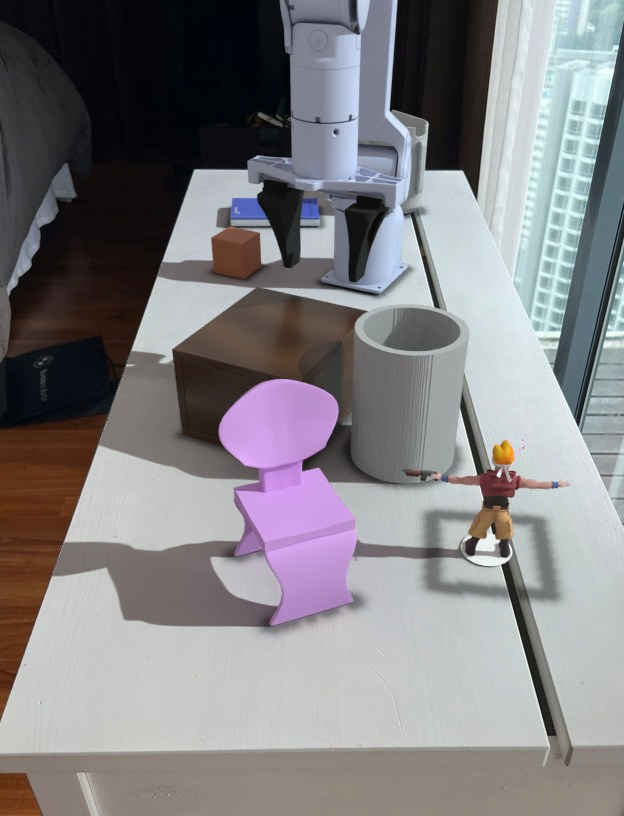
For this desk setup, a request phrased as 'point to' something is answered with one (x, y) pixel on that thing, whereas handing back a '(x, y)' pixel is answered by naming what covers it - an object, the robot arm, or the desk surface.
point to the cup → (406, 390)
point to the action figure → (491, 506)
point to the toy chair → (291, 494)
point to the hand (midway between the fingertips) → (323, 271)
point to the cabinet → (263, 356)
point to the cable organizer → (412, 158)
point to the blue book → (253, 215)
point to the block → (236, 252)
